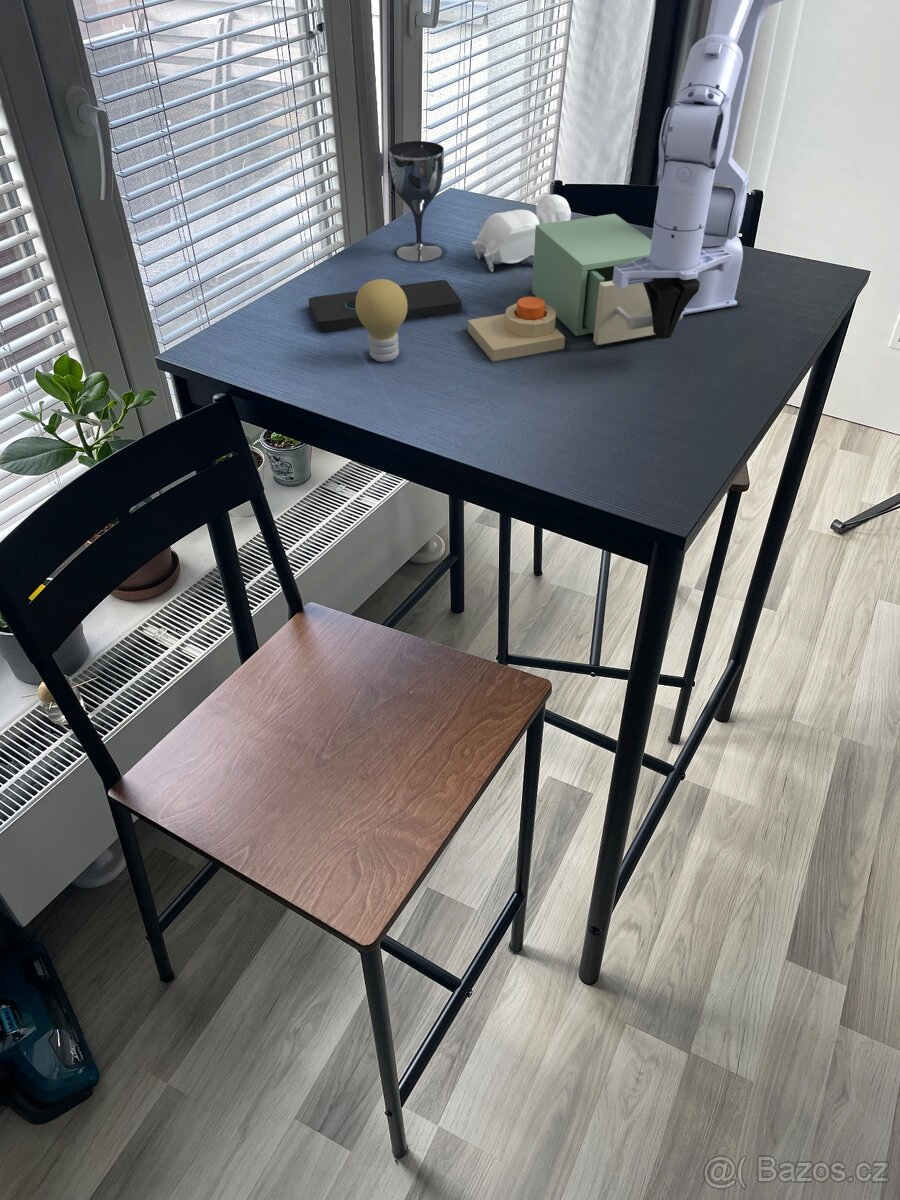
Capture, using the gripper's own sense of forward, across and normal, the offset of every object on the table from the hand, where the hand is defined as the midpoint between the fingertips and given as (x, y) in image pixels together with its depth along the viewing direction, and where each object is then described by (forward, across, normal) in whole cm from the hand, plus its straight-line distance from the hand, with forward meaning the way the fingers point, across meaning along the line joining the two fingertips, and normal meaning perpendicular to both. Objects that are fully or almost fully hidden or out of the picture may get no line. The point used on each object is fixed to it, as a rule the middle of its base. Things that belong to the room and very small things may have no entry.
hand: (662, 334), depth 113 cm
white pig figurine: (+4, -2, +37) cm, 37 cm away
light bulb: (+4, -32, +14) cm, 35 cm away
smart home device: (+4, -28, +27) cm, 39 cm away
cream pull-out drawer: (+3, 0, +10) cm, 11 cm away
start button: (+1, -12, +13) cm, 17 cm away
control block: (+4, -14, +13) cm, 19 cm away
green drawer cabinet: (+4, 0, +18) cm, 19 cm away
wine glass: (+4, -16, +45) cm, 48 cm away
